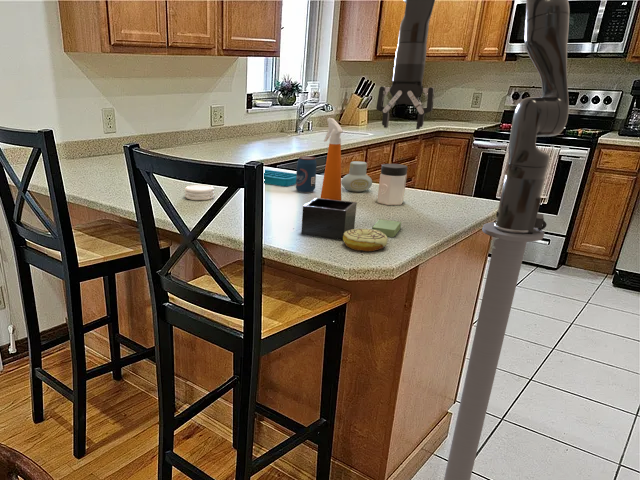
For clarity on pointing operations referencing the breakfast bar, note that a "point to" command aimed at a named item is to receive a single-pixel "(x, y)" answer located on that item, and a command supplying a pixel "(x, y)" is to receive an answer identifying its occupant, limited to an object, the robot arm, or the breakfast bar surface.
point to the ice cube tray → (279, 178)
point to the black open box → (328, 218)
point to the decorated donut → (365, 239)
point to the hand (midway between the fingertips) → (401, 128)
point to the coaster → (199, 192)
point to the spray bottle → (332, 163)
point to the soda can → (306, 174)
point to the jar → (392, 184)
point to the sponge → (387, 227)
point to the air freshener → (357, 177)
